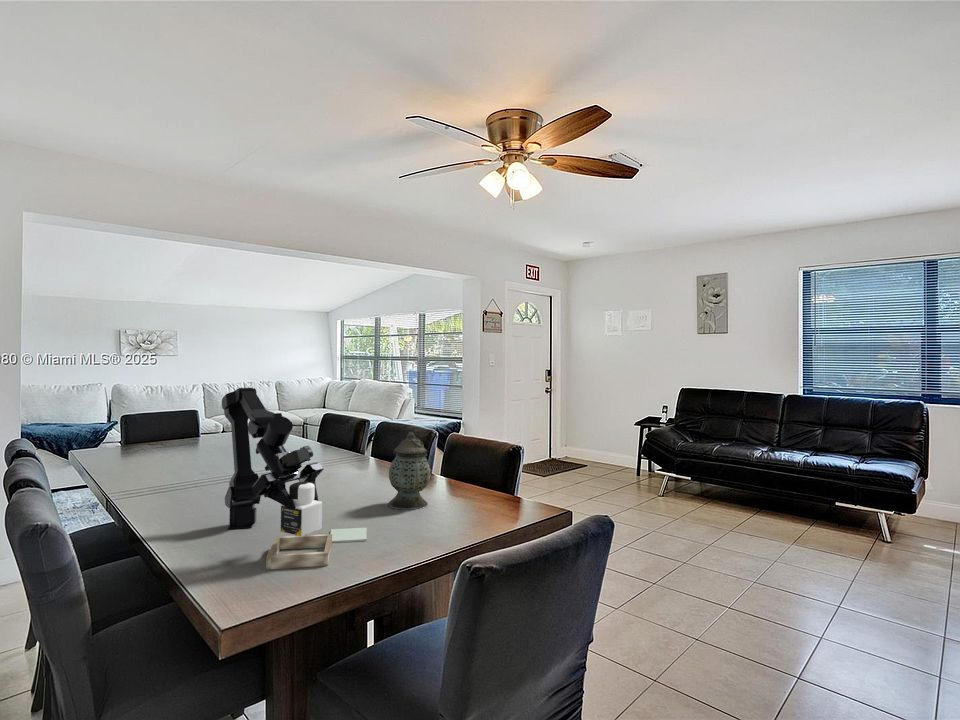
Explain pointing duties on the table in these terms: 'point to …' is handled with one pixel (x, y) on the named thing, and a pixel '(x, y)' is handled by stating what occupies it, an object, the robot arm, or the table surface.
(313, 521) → the medicine bottle
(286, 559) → the birch box
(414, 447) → the lantern
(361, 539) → the sage mat
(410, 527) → the table surface
